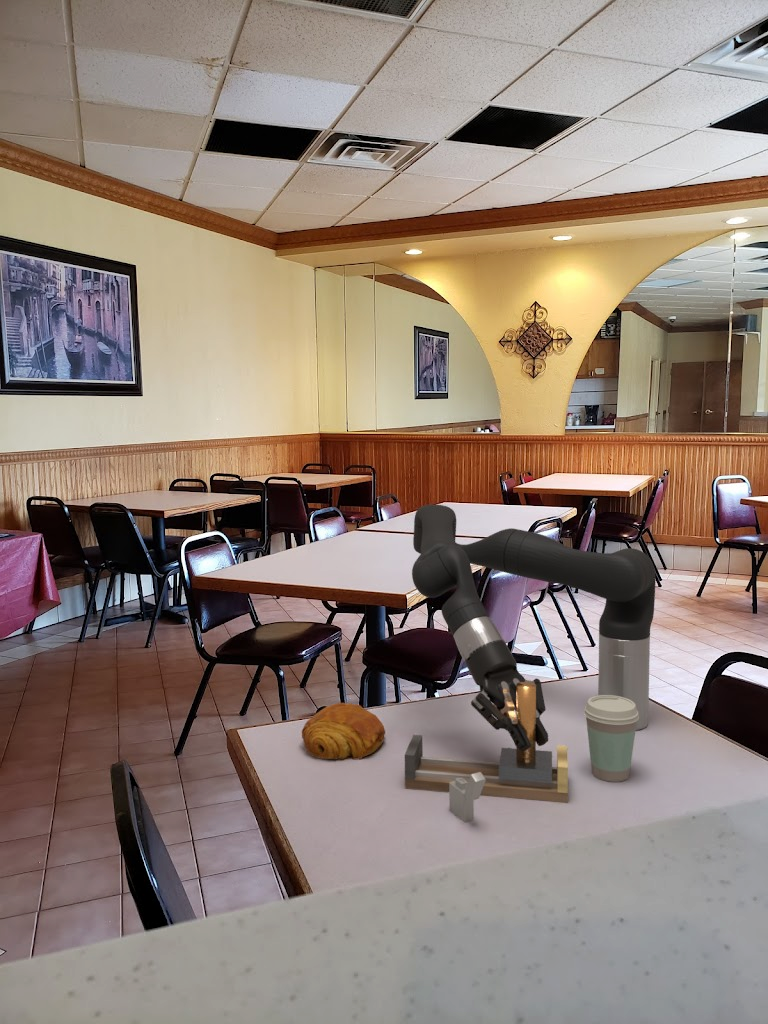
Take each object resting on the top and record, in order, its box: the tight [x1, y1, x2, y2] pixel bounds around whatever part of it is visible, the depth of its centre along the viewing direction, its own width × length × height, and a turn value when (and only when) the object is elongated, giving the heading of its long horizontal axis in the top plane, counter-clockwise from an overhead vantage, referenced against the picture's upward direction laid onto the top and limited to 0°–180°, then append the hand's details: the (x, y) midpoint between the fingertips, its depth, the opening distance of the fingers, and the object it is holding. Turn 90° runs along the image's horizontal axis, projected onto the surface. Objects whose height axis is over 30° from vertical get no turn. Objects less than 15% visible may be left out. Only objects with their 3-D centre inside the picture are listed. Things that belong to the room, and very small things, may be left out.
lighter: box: [448, 772, 486, 823], centre depth 108 cm, size 7×2×8 cm, turn 27°
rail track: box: [404, 734, 569, 804], centre depth 119 cm, size 8×25×6 cm, turn 78°
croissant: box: [301, 702, 386, 760], centre depth 135 cm, size 14×16×8 cm
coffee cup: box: [583, 695, 639, 783], centre depth 122 cm, size 8×8×12 cm
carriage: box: [498, 682, 553, 783], centre depth 117 cm, size 7×8×14 cm
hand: (535, 745), depth 116 cm, fingers closed on carriage, 3 cm apart
